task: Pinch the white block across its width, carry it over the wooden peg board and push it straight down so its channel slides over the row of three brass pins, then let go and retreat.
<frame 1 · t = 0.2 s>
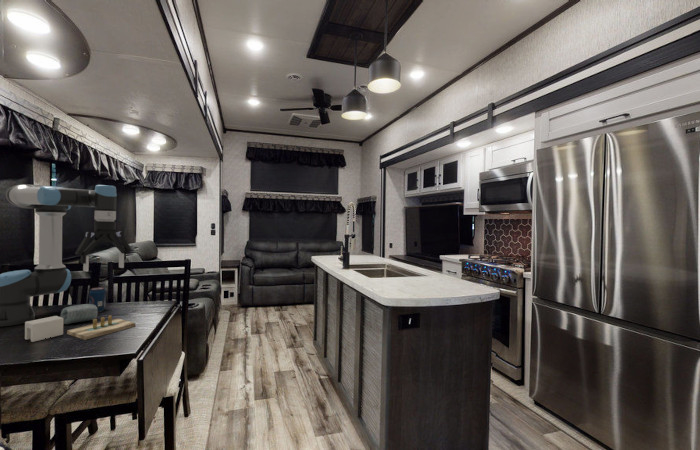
hand: (104, 269, 143), 27 cm above the table, fingers open, 13 cm apart
wooden peg board: (102, 329, 146), on the table
white block: (44, 336, 136), on the table
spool: (79, 322, 156), on the table
soda can: (97, 311, 174), on the table
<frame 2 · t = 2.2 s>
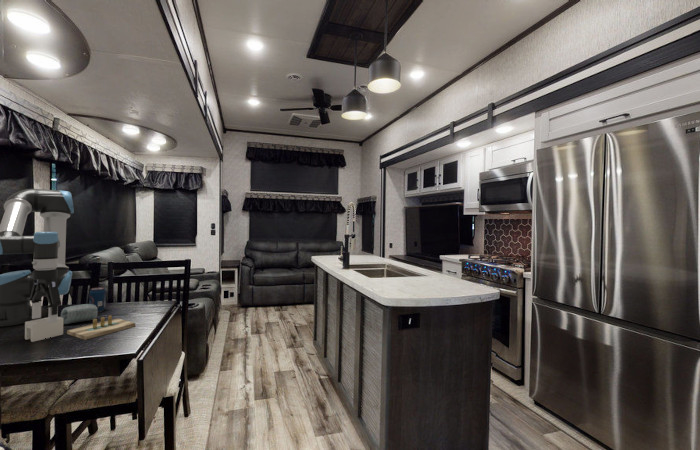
hand: (44, 320, 136), 7 cm above the table, fingers open, 13 cm apart
nothing on the table moved.
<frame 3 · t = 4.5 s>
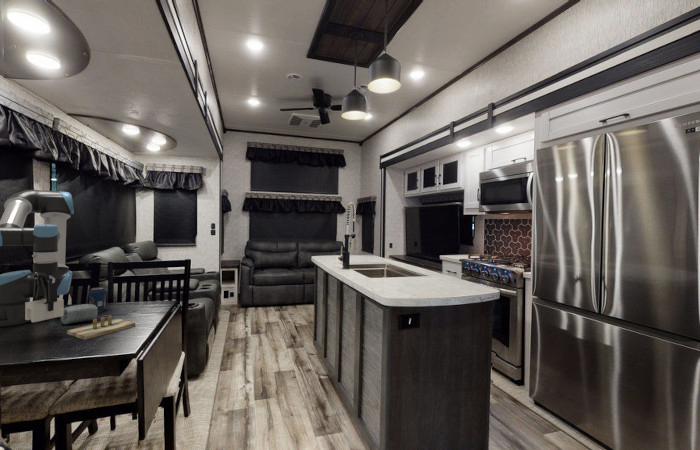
hand: (44, 316, 137), 8 cm above the table, fingers closed on white block, 6 cm apart
white block: (44, 317, 137), point 8 cm above the table, touching gripper
everything else where it was.
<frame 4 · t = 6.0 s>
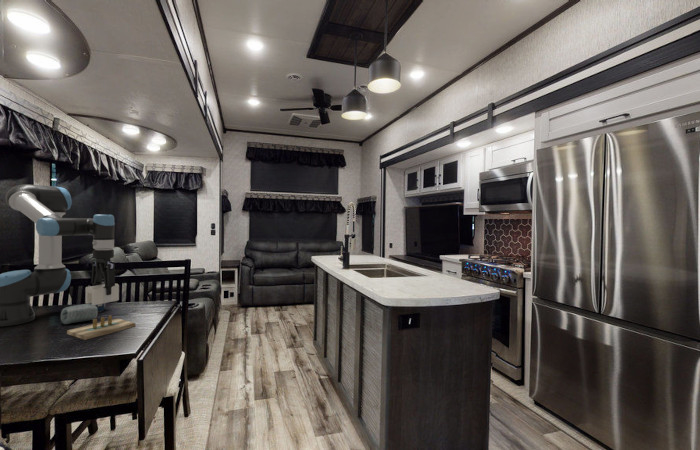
hand: (102, 301, 145), 13 cm above the table, fingers closed on white block, 6 cm apart
white block: (102, 301, 145), point 13 cm above the table, touching gripper
everything else where it was.
when the fingers open (2 cm above the table, at t = 7.7 s): white block stays where it is, resting on wooden peg board.
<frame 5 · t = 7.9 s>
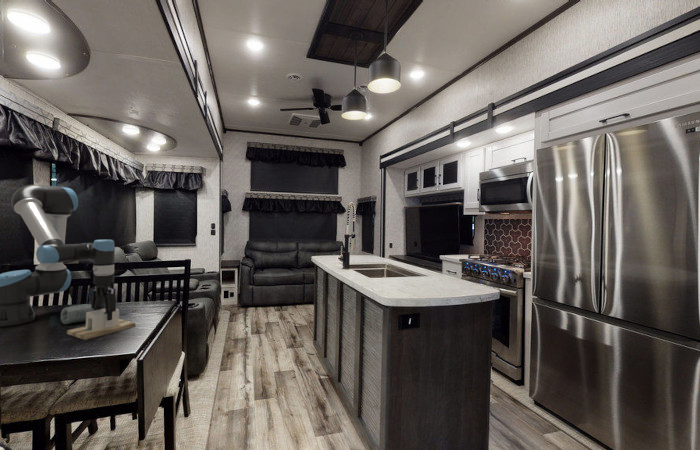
hand: (103, 326, 146), 2 cm above the table, fingers open, 7 cm apart
white block: (102, 326, 146), point 2 cm above the table, touching wooden peg board
everything else where it was.
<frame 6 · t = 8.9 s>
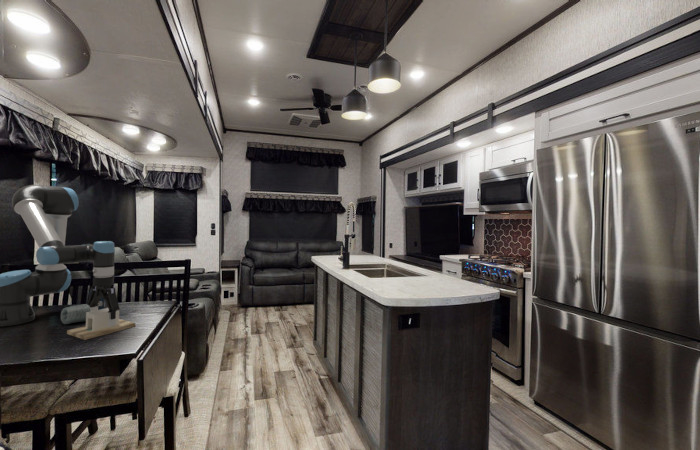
hand: (102, 323, 146), 3 cm above the table, fingers open, 13 cm apart
nothing on the table moved.
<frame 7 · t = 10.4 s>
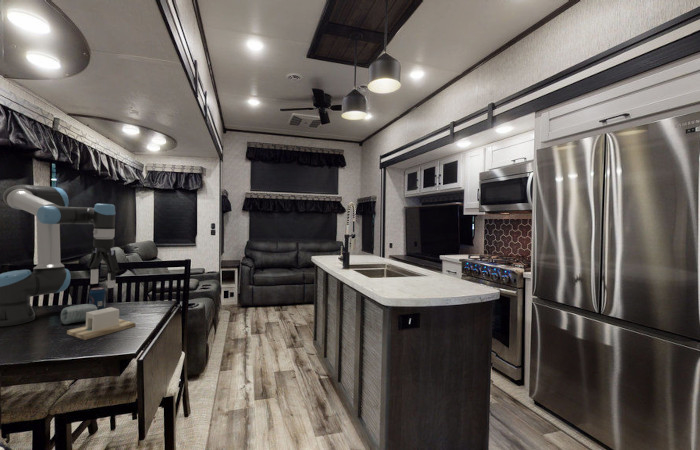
hand: (102, 285, 147), 19 cm above the table, fingers open, 13 cm apart
nothing on the table moved.
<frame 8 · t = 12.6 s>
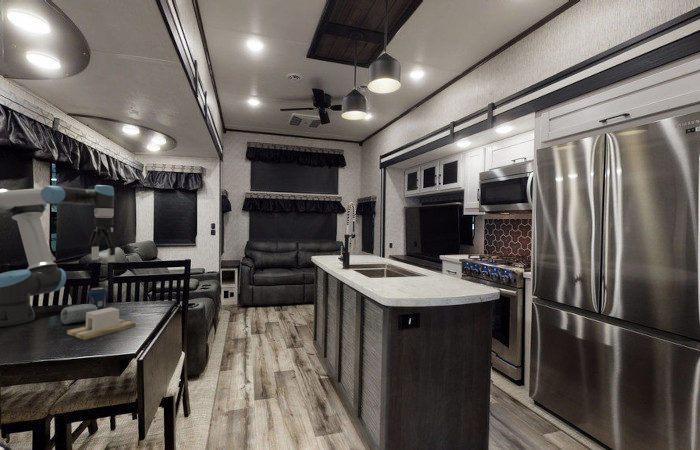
hand: (103, 260, 160), 29 cm above the table, fingers open, 13 cm apart
nothing on the table moved.
at the end: white block 0.2 cm off-centre on the wooden peg board, point 1.6 cm above the wooden peg board's base; white block tilted 1°; the gripper is holding nothing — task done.
